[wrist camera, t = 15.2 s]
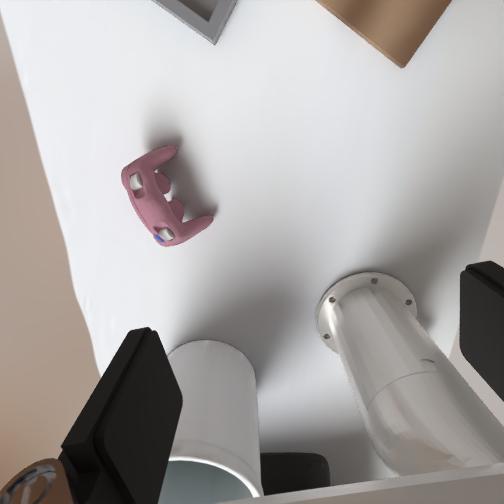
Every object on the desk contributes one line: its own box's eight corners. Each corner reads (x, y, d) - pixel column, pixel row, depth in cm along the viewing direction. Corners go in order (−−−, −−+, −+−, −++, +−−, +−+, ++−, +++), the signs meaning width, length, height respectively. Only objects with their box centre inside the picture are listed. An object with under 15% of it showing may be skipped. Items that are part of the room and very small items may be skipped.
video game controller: (149, 153, 37) (102, 174, 32) (177, 138, 34) (131, 158, 29) (191, 229, 40) (155, 259, 35) (219, 221, 38) (185, 252, 32)
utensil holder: (186, 316, 43) (144, 435, 27) (280, 363, 46) (295, 497, 30) (140, 389, 48) (81, 528, 32) (228, 428, 51) (216, 574, 34)
